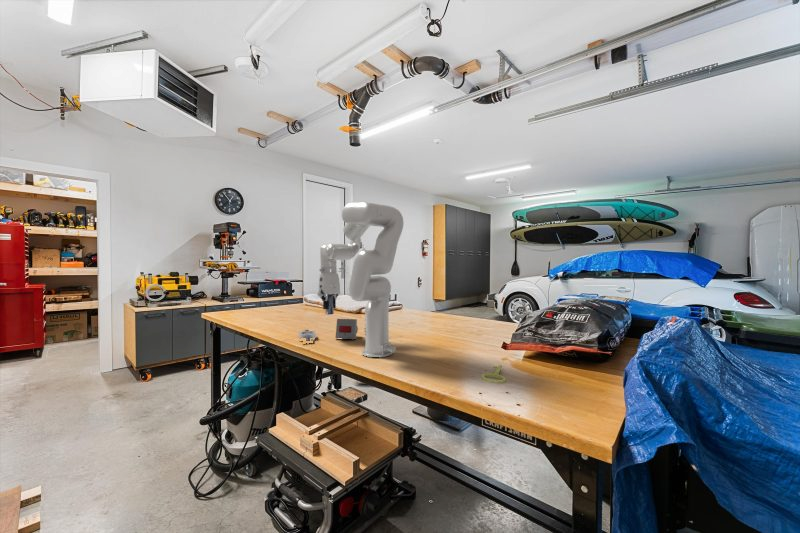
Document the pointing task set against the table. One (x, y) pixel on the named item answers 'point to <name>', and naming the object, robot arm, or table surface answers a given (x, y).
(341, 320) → the voltmeter
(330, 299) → the pin
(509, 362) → the table surface
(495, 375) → the key
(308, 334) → the chain ends
